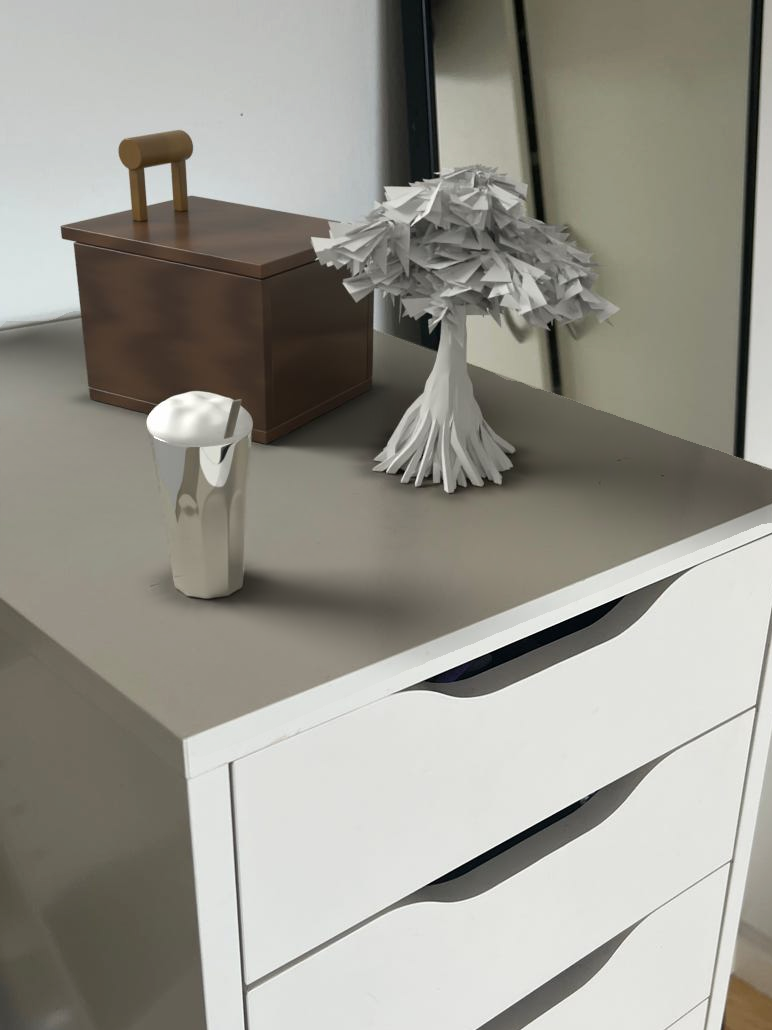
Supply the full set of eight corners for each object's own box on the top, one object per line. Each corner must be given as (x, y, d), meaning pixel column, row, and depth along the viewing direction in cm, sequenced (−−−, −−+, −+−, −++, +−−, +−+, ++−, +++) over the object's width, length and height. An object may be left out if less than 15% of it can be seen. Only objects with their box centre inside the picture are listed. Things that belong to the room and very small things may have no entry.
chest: (89, 399, 78) (73, 242, 73) (209, 350, 88) (202, 210, 83) (266, 444, 73) (261, 280, 68) (372, 388, 83) (375, 241, 78)
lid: (61, 239, 73) (50, 140, 70) (191, 207, 83) (186, 119, 80) (262, 279, 68) (259, 174, 65) (375, 240, 78) (377, 147, 75)
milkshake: (202, 623, 55) (189, 410, 50) (142, 577, 58) (124, 373, 53) (286, 594, 57) (282, 390, 52) (224, 553, 61) (215, 356, 56)
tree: (612, 525, 66) (652, 209, 58) (317, 528, 64) (315, 198, 55) (546, 409, 82) (570, 146, 73) (306, 408, 79) (303, 135, 71)
